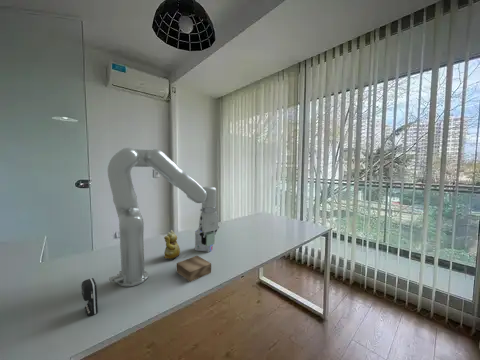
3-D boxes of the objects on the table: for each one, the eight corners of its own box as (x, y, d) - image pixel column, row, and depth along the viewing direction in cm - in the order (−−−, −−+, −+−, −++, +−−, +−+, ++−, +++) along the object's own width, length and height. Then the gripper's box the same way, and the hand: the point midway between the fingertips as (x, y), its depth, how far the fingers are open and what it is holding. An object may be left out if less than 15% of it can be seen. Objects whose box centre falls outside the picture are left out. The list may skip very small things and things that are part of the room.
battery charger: (82, 308, 80) (80, 279, 79) (94, 304, 82) (92, 275, 81) (85, 319, 75) (83, 287, 74) (98, 313, 77) (96, 283, 76)
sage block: (206, 246, 114) (207, 235, 113) (201, 243, 117) (201, 232, 117) (214, 243, 117) (214, 233, 117) (208, 241, 121) (209, 230, 120)
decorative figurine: (168, 253, 127) (167, 228, 126) (182, 253, 127) (181, 228, 126) (162, 261, 118) (161, 234, 116) (177, 261, 118) (177, 234, 116)
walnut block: (190, 282, 98) (190, 272, 98) (176, 272, 106) (176, 263, 106) (211, 273, 107) (211, 263, 106) (197, 264, 115) (197, 255, 114)
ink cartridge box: (213, 248, 135) (213, 226, 133) (210, 252, 129) (210, 228, 128) (198, 247, 137) (198, 224, 135) (194, 250, 131) (194, 227, 130)
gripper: (199, 213, 107) (198, 248, 108) (225, 208, 119) (224, 241, 121) (191, 210, 112) (190, 244, 114) (216, 206, 124) (215, 237, 126)
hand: (207, 242), depth 117 cm, fingers closed on sage block, 4 cm apart
